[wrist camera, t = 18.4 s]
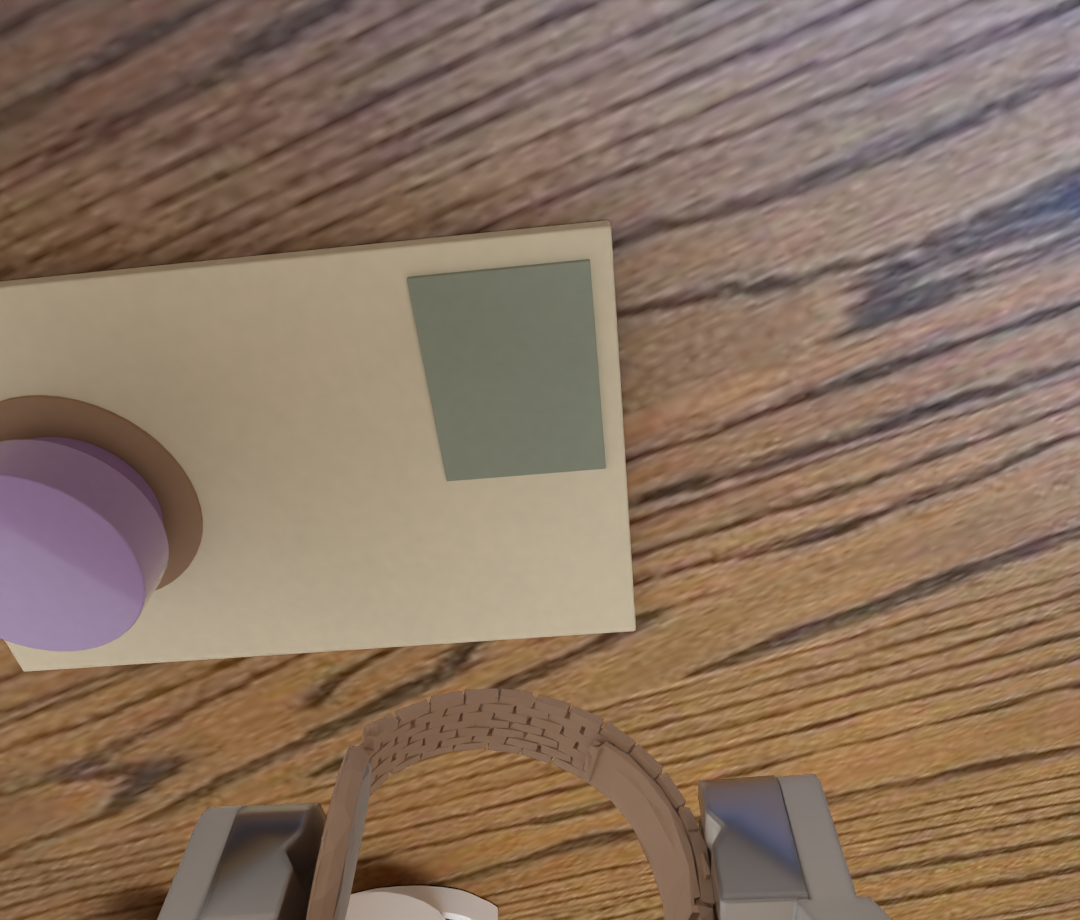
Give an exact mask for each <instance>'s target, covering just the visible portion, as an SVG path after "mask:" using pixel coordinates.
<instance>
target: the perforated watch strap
mask: <svg viewBox="0 0 1080 920" xmlns="http://www.w3.org/2000/svg"><path fill="white" fill-rule="evenodd" d="M514 705H515V707H514ZM569 709H570V703H567V702H563V701H560V700H557V699H553V698H550V697H546V696H543V695H538V697H537V698H536V700H535V698H534V696H533V693H532V692H524V691H517V690H509V689H502V691H501V695H500V697H498V689H465V692H464V696H463V693H462V691H457V692H452V693H446V694H440V695H434V696H431V698H430V702H429V703H428V702H427V700H426V699H425V700H423V701H420V702H418V703H415V704H413V705H410V706H408V707H405V708H403V709H400V710H398V711H396V712H395V715H396V718H395V717H394V716H392V715H391V714H390V715H388V716H386V717H384V718H382V719H380V720H378V721H377V722H374V721H372V722H371V723H369V724H368V725H367V727H365V728H364V733H363V737H362V742H363V743H362V744H361V745H359V746H358V747H356V746H351V745H350V746H349V748H348V750H347V752H346V755H345V757H344V760H343V762H342V764H341V767H340V770H339V773H338V777H337V780H336V784H335V787H334V791H333V795H332V798H331V802H330V806H329V811H328V815H327V819H326V823H325V827H324V831H323V836H322V840H321V846H320V850H319V854H318V859H317V864H316V869H315V874H314V879H313V884H312V889H311V894H310V900H309V905H308V911H307V917H306V920H345V917H346V913H347V909H348V905H349V900H350V895H351V890H352V885H353V880H354V875H355V870H356V865H357V860H358V855H359V850H360V845H361V840H362V835H363V830H364V825H365V819H366V813H367V807H368V801H369V797H370V796H371V795H372V794H373V793H374V792H375V791H376V790H377V789H378V788H379V787H380V786H381V785H382V784H383V783H384V782H385V781H386V780H387V778H388V775H389V772H390V773H392V774H395V773H397V772H399V771H401V770H403V769H405V768H407V767H409V766H410V765H412V764H414V763H416V762H418V761H419V757H420V758H421V760H422V759H425V758H429V757H432V756H436V755H439V754H443V753H446V752H449V751H461V750H478V749H486V743H488V750H493V751H501V752H509V753H517V754H519V753H520V749H521V751H522V755H524V756H527V757H530V758H534V759H537V760H541V761H544V762H547V763H550V762H551V760H552V758H553V757H555V760H554V765H555V766H557V767H559V768H561V769H563V770H566V771H568V772H570V773H572V774H574V775H576V776H578V777H580V778H582V779H585V781H586V782H587V783H589V784H590V785H591V786H593V787H594V788H596V789H597V790H598V791H600V792H601V793H602V794H604V795H605V796H606V797H608V798H609V799H610V800H611V801H612V802H613V803H614V804H615V806H616V807H617V808H618V809H619V811H620V812H621V813H622V814H623V815H624V817H625V818H626V819H627V820H628V822H629V823H630V824H631V825H632V827H633V829H634V831H635V833H636V836H637V838H638V840H639V842H640V844H641V847H642V849H643V851H644V853H645V855H646V857H647V860H648V862H649V864H650V866H651V868H652V871H653V874H654V877H655V880H656V883H657V886H658V890H659V893H660V896H661V899H662V902H663V911H664V920H713V919H714V913H713V908H712V907H713V905H714V903H715V898H714V892H713V887H712V881H711V867H710V862H709V856H708V850H707V846H706V844H705V841H704V839H703V837H702V835H701V834H700V832H698V831H699V828H698V825H697V823H696V821H695V819H694V816H693V814H692V812H691V810H690V808H688V807H684V805H685V802H686V800H685V799H684V797H683V796H682V794H681V793H680V791H679V790H678V788H677V787H676V785H675V784H674V782H673V781H672V779H671V778H670V776H669V775H668V773H665V774H662V775H661V773H662V767H663V766H662V765H661V764H659V763H658V762H657V761H656V760H655V759H654V758H653V757H652V756H651V755H650V754H649V753H647V752H646V751H645V750H644V749H643V748H642V747H641V746H640V745H639V744H638V745H637V746H636V747H635V744H636V742H635V741H634V740H632V739H631V738H630V737H629V736H627V735H626V734H625V733H623V732H622V731H621V730H619V729H618V728H617V727H615V726H614V725H613V724H612V723H610V722H608V723H607V724H606V725H605V726H604V727H603V728H601V725H602V723H603V720H604V718H601V717H599V716H597V715H594V714H592V713H590V712H587V711H585V710H583V709H580V708H578V707H576V706H572V709H571V711H570V712H569ZM494 712H496V713H494ZM549 713H550V714H549ZM529 716H530V717H531V718H529ZM510 721H511V722H510ZM564 726H565V727H564ZM583 726H584V727H585V728H584V727H583ZM490 727H492V729H490ZM563 727H564V728H563ZM578 742H579V743H578ZM539 744H541V746H540V745H539ZM634 747H635V748H634Z"/></svg>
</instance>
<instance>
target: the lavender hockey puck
mask: <svg viewBox="0 0 1080 920" xmlns="http://www.w3.org/2000/svg"><path fill="white" fill-rule="evenodd" d="M168 558H169V545H168V540H167V534H166V531H165V529H164V525H163V514H162V510H161V507H160V504H159V501H158V499H157V497H156V495H155V493H154V492H153V490H152V489H151V487H150V486H149V484H148V483H147V482H146V480H145V479H144V478H143V477H142V476H141V475H140V474H139V473H138V472H137V471H136V470H135V469H134V468H133V467H132V466H130V465H129V464H128V463H127V462H125V461H124V460H123V459H121V458H119V457H118V456H116V455H115V454H113V453H111V452H109V451H107V450H105V449H103V448H101V447H99V446H96V445H94V444H91V443H88V442H85V441H81V440H78V439H72V438H67V437H39V438H33V439H22V440H8V441H1V442H0V639H3V640H6V641H8V642H11V643H14V644H17V645H21V646H25V647H29V648H34V649H41V650H47V651H79V650H87V649H91V648H96V647H99V646H102V645H105V644H107V643H110V642H112V641H113V640H115V639H117V638H119V637H120V636H122V635H123V634H124V633H126V632H127V631H128V630H129V629H130V628H131V627H132V626H133V625H134V624H135V622H136V621H137V619H138V618H139V616H140V614H141V613H142V611H143V609H144V608H145V606H146V604H147V603H148V601H149V599H150V598H151V596H152V594H153V593H154V591H155V590H156V588H157V586H158V585H159V583H160V581H161V580H162V578H163V576H164V574H165V571H166V568H167V564H168Z"/></svg>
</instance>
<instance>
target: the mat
mask: <svg viewBox="0 0 1080 920" xmlns="http://www.w3.org/2000/svg"><path fill="white" fill-rule="evenodd" d="M39 437H67V438H72V439H78V440H81V441H85V442H88V443H91V444H94V445H96V446H99V447H101V448H103V449H105V450H107V451H109V452H111V453H113V454H115V455H116V456H118V457H119V458H121V459H123V460H124V461H125V462H127V463H128V464H129V465H130V466H132V467H133V468H134V469H135V470H136V471H137V472H138V473H139V474H140V475H141V476H142V477H143V478H144V479H145V480H146V482H147V483H148V484H149V486H150V487H151V489H152V490H153V492H154V493H155V495H156V497H157V499H158V501H159V504H160V507H161V510H162V514H163V525H164V529H165V531H166V534H167V540H168V545H169V558H168V564H167V568H166V571H165V574H164V576H163V578H162V580H161V581H160V583H159V585H158V586H157V588H156V590H155V591H154V593H153V594H152V596H151V598H150V599H149V601H148V603H147V604H146V606H145V608H144V609H143V611H142V613H141V614H140V616H139V618H138V619H137V621H136V622H135V624H134V625H133V626H132V627H131V628H130V629H129V630H128V631H127V632H126V633H124V634H123V635H122V636H120V637H119V638H117V639H115V640H113V641H112V642H110V643H107V644H105V645H102V646H99V647H96V648H91V649H87V650H79V651H47V650H41V649H34V648H29V647H25V646H21V645H17V644H14V643H11V642H8V641H6V640H5V642H6V643H7V645H8V647H9V648H10V650H11V651H12V653H13V655H14V656H15V658H16V660H17V661H18V663H19V665H20V666H21V668H22V670H23V671H40V670H55V669H70V668H85V667H100V666H115V665H130V664H145V663H160V662H175V661H190V660H205V659H220V658H235V657H250V656H265V655H280V654H295V653H310V652H325V651H341V650H356V649H371V648H386V647H401V646H416V645H431V644H446V643H461V642H476V641H491V640H506V639H521V638H536V637H551V636H566V635H581V634H596V633H611V632H626V631H635V630H636V622H635V606H634V590H633V574H632V557H631V541H630V525H629V509H628V492H627V476H626V460H625V444H624V428H623V411H622V395H621V379H620V363H619V346H618V330H617V314H616V298H615V281H614V265H613V249H612V233H611V224H610V221H608V220H605V221H595V222H585V223H575V224H565V225H555V226H545V227H535V228H525V229H515V230H506V231H496V232H486V233H476V234H466V235H456V236H446V237H436V238H426V239H416V240H406V241H397V242H387V243H377V244H367V245H357V246H347V247H337V248H327V249H317V250H307V251H297V252H288V253H278V254H268V255H258V256H248V257H238V258H228V259H218V260H208V261H198V262H188V263H178V264H169V265H159V266H149V267H139V268H129V269H119V270H109V271H99V272H89V273H79V274H69V275H60V276H50V277H40V278H30V279H20V280H10V281H0V442H1V441H8V440H22V439H33V438H39Z"/></svg>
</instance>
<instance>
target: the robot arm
mask: <svg viewBox="0 0 1080 920" xmlns="http://www.w3.org/2000/svg"><path fill="white" fill-rule="evenodd" d="M698 800H699V806H700V812H701V817H700V818H699V832H700V834H701V835H702V837H703V839H704V841H705V844H706V846H707V850H708V856H709V862H710V867H711V881H712V887H713V892H714V898H715V903H714V905H713V907H712V908H713V913H714V919H713V920H892V919H891V918H890V917H889V916H888V915H887V914H886V913H885V912H884V911H883V910H882V909H881V908H880V907H879V906H878V905H877V904H876V903H875V902H874V901H873V900H872V899H871V898H870V897H857V896H856V892H855V889H854V886H853V883H852V880H851V877H850V873H849V870H848V867H847V864H846V861H845V858H844V854H843V851H842V848H841V845H840V842H839V839H838V835H837V832H836V829H835V826H834V823H833V820H832V816H831V813H830V810H829V807H828V804H827V800H826V797H825V794H824V791H823V788H822V785H821V782H820V781H819V779H818V778H817V777H816V775H814V774H805V775H792V776H779V777H774V775H772V776H758V777H744V778H731V779H717V780H703V781H699V784H698ZM326 819H327V817H326V815H325V813H324V811H323V809H322V806H321V804H320V803H306V804H280V805H254V806H246V805H244V806H226V807H208V808H207V809H206V810H205V812H204V813H203V814H202V815H201V817H200V818H199V819H198V820H197V823H196V825H195V828H194V830H193V833H192V835H191V838H190V840H189V843H188V845H187V847H186V850H185V852H184V855H183V857H182V860H181V862H180V865H179V867H178V870H177V872H176V874H175V877H174V879H173V882H172V884H171V887H170V889H169V892H168V894H167V897H166V899H165V901H164V904H163V906H162V909H161V911H160V914H159V916H158V919H157V920H306V917H307V911H308V905H309V900H310V894H311V889H312V884H313V879H314V874H315V869H316V864H317V859H318V854H319V850H320V846H321V840H322V836H323V831H324V827H325V823H326Z"/></svg>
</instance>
